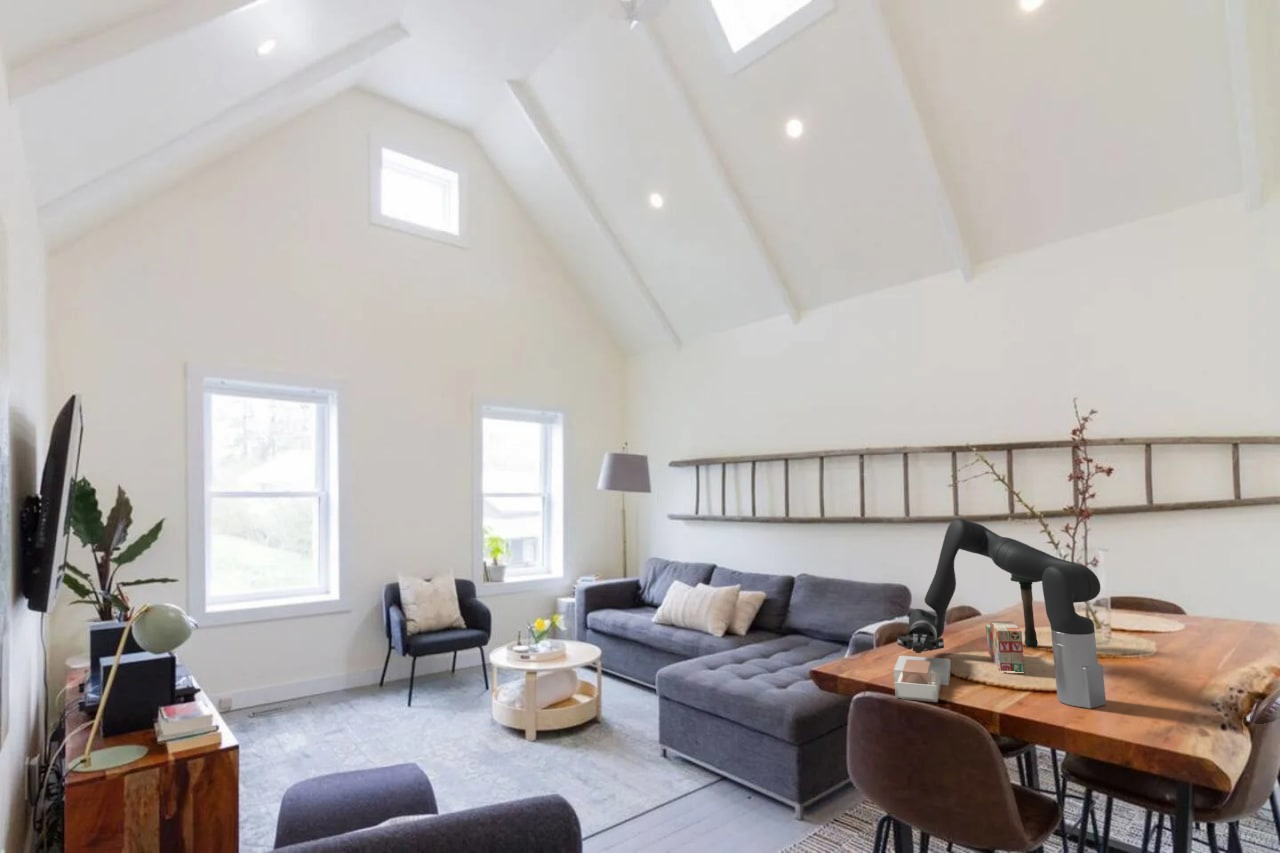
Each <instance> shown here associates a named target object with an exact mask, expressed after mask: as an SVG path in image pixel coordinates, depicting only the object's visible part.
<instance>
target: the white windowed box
mask: <svg viewBox="0 0 1280 853" xmlns="http://www.w3.org/2000/svg"><path fill="white" fill-rule="evenodd" d="M907 659H909V660H923V661H930V663H931V675H932V682H935V681H936V676H937V675H940V682H941V686H949V685H950V678H951V673H950V670H951V671H952V666H951V665H952V664H951V658H940V657H925V656H924V657H923V656H914V655H913V656H911V655H910V656H909V655H899V656H898V658H897V661H896V663H895V665H894V668H893V681H894V682H897V681H898V679H899V676H900V673H901V672H902V671H903V668H904V666H905V663H906V660H907Z"/></svg>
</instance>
